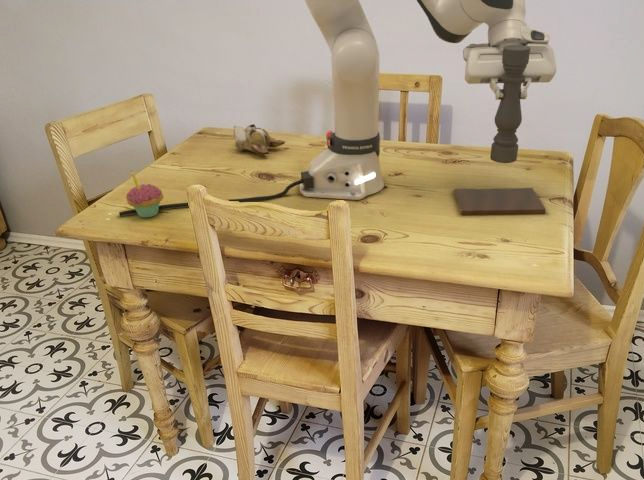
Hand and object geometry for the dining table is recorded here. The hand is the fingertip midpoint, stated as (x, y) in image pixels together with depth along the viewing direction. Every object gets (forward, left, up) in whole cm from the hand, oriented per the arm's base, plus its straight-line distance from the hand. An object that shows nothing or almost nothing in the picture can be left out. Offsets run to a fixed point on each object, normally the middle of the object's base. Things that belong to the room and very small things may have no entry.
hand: (511, 98), depth 136 cm
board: (0, 0, -26) cm, 26 cm away
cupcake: (-87, -3, -26) cm, 91 cm away
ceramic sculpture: (-66, +40, -26) cm, 82 cm away
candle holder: (0, +1, -15) cm, 15 cm away
